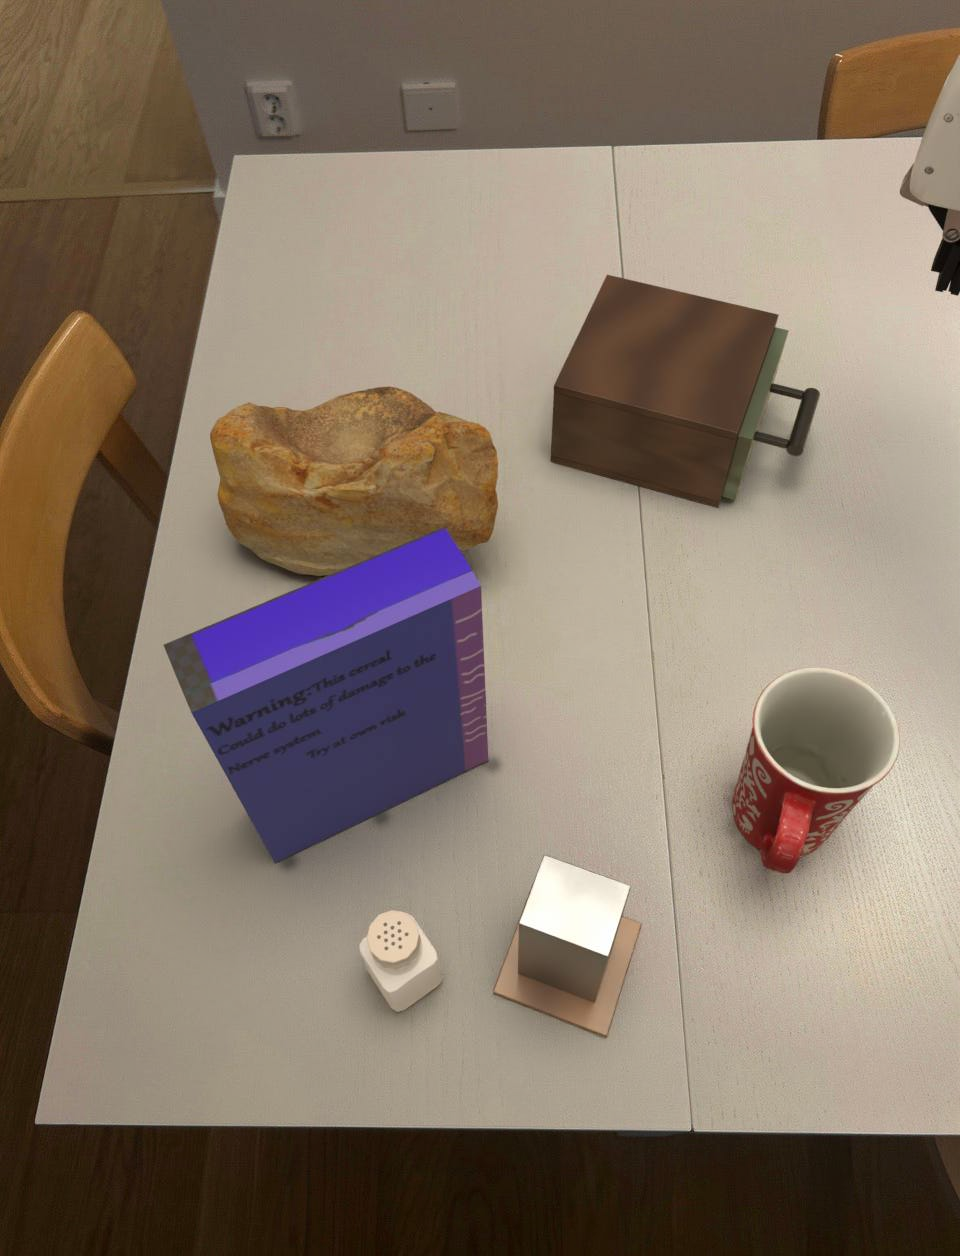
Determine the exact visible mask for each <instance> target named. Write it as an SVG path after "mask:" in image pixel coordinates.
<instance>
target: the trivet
mask: <svg viewBox="0 0 960 1256" xmlns="http://www.w3.org/2000/svg"><path fill="white" fill-rule="evenodd" d="M532 886H533V884H532V885H531V887H532ZM530 891H531V889H530ZM530 891H529V893H528V896H527V899H528V897H529V894H530ZM527 899H526V901H525V904H524V906H525V905H526V902H527ZM523 910H524V908H523V909H522V912H521V915H520V918H521V916H522V913H523ZM520 918H519V920H518V923H517V926H516V928H515V930H514V934H513V936H512V939H511V942H510V945H509V947H508V950H507V953H506V956H505V959H504V961H503V964H502V967H501V969H500V971H499V975H498V978H497V980H496V982H495V985H494V987H493V990H492V992H493V994H494V995H497V996H499V997H501V998H503V999H507V1000H509V1001H511V1002H514V1003H517V1004H520V1005H522V1006H525V1007H527V1008H529V1009H532V1010H533V1011H534V1010H535V1011H537V1012H539V1013H542V1014H544V1015H548V1016H550V1017H553V1018H555V1019H557V1020H560V1021H562V1022H565V1023H568V1024H570V1025H573V1026H575V1027H578V1028H581V1029H582V1030H586V1031H587V1032H590V1033H593V1034H596V1035H598V1036H601V1037H603V1038H607V1037H608V1034H609V1031H610V1028H611V1025H612V1023H613V1022H612V1021H613V1018H614V1015H615V1012H616V1010H617V1009H616V1008H617V1005H618V1002H619V998H620V995H621V992H622V989H623V986H624V983H625V980H626V976H627V973H628V969H629V967H630V963H631V960H632V957H633V953H634V950H635V947H636V943H637V940H638V937H639V934H640V930H641V927H642V922H640V921H637V920H634V919H633V918H632V919H631V918H629V917H626V916H624V915H622V919H621V922H620V925H619V929H618V932H617V936H616V939H615V942H614V945H613V949H612V952H611V955H610V958H609V961H608V964H607V967H606V971H605V974H604V977H603V980H602V983H601V986H600V989H599V993H598V996H597V999H596V1002H595V1003H594V1002H591V1001H589V1000H586V999H583V998H581V997H578V996H576V995H573V994H570V993H568V992H565V991H563V990H560V989H558V988H555V987H552V986H550V985H547V984H545V983H542V982H539V981H537V980H534V979H532V978H529V977H526V976H524V975H521V974H519V973H518V939H519V921H520Z"/></svg>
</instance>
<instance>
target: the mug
mask: <svg viewBox="0 0 960 1256" xmlns="http://www.w3.org/2000/svg"><path fill="white" fill-rule="evenodd" d="M900 746H901V737H900V728H899V725H898V721H897V719H896V717H895V715H894V712H893V710H892V709H891V707H890V706H889V704H888V703H887V701H886V700H885V699H884V698H883V697H882V696H881V694H880V693H878V692H877V691H876V689H875V688H873V687H872V686H870V685H869V684H868V683H866V682H865V681H864V680H861V679H860V678H858V677H856V676H854V675H852V674H850V673H847V672H845V671H842V670H838V669H834V668H829V667H819V666H813V667H812V666H810V667H802V668H797V669H793V670H791V671H790V670H789V671H788V672H784V673H782V674H781V675H779V676H778V677H776V678H775V679H773V680H771V681H770V682H769V683H768V685H766V686H765V687H764V689H763V690H762V691H761V693H760V694H759V696H758V698H757V700H756V702H755V705H754V709H753V714H752V727H751V731H750V734H749V738H748V742H747V745H746V751H745V754H744V757H743V760H742V763H741V767H740V771H739V773H738V774H739V775H738V778H737V782H736V784H735V788H734V791H733V796H732V804H731V805H732V814H733V819H734V821H735V824H736V826H737V828H738V830H739V832H740V833H741V835H742V836H743V837H744V838H745V839H746V841H747V842H749V844H751V845H752V846H754V847H755V848H756V849H758V850H760V859H761V860H760V861H761V865H763V867H765V868H766V869H768V870H770V871H773V872H776V873H780V874H787V875H788V874H790V873H792V872H793V870H794V869H795V867H796V866H797V865H798V862H799V860H800V859H801V857H804V856H806V855H807V856H808V855H810V854H811V853H813V852H815V851H816V850H818V849H819V848H820V847H821V846H822V845H823V844H824V843H825V842H826V841H827V840H828V839H829V838H830V837H831V835H832V834H833V833H834V832H835V830H836V829H837V828H838V827H839V825H841V823H842V822H843V821H844V820H845V819H846V817H848V816H849V814H850V813H851V812H852V810H853V809H854V808H855V807H856V806H857V805H858V804H859V803H860V802H861V801H862V800H863V798H865V796H866V795H867V794H868V792H870V790H872V788H873V787H875V785H877V784H878V783H880V782H881V781H882V780H884V778H885V777H886V776H888V774H889V773H890V772H891V770H892V769H893V767H894V766H895V763H896V761H897V759H898V756H899V752H900V748H901V747H900Z"/></svg>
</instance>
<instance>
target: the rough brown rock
mask: <svg viewBox="0 0 960 1256" xmlns="http://www.w3.org/2000/svg"><path fill="white" fill-rule="evenodd" d="M209 439H210V444H211V449H212V453H213V456H214V461H215V465H216V468H217V471H218V474H219V484H218V489H217V494H216V495H217V500H218V504H219V507H220V509H221V511H222V515H223V518H224V521H225V525H226V527H227V528H228V531H229V532H230V534H231V535H232V536H233V537H234V539H236V541H237V542H238V543H239V544H241V545H242V546H244V547H246V548H247V549H249V550H250V551H252V552H253V554H255V555H256V556H257V557H258V558H259V559H261V560H263V561H265V562H267V563H269V564H273V565H276V566H278V567H280V568H283V569H284V570H288V571H289V572H291V573H295V574H298V575H309V576H310V575H311V576H316V577H325V576H328V575H331V574H333V573H335V572H338V571H340V570H343V569H345V568H347V567H350V566H352V565H354V564H357V563H359V562H362V561H364V560H366V559H369V558H371V557H373V556H376V555H378V554H381V553H383V552H385V551H388V550H390V549H392V548H395V547H397V546H400V545H402V544H404V543H407V542H409V541H412V540H414V539H416V538H419V537H421V536H423V535H426V534H428V533H431V532H433V531H435V530H438V529H440V528H442V527H445V529H446V530H447V532H448V533H449V535H450V536H451V538H452V539H453V541H454V542H455V544H456V545H457V547H458V548H459V550H460V551H461V553H464V552H466V551H467V550H470V549H473V547H475V546H478V545H483V544H486V543H488V542H489V541H490V539H491V538H492V535H493V533H494V530H495V524H496V523H495V522H496V517H497V512H498V507H499V501H498V500H499V499H498V494H497V483H498V476H499V459H498V452H497V449H496V447H495V445H494V442H493V438H492V436H491V432H490V431H489V430H488V429H487V427H485V426H483V425H482V424H480V423H478V422H474V421H468V420H466V419H464V418H461V417H458V416H456V415H452V414H449V413H446V412H442V411H435V409H434V408H433V407H431V406H430V405H429V404H427V403H426V402H425V401H423V400H422V399H420V398H419V397H418V396H416V395H415V394H413V392H410V391H407V390H405V389H401V388H398V387H395V386H378V387H372V388H367V389H364V390H357V391H352V392H349V393H345V394H341V395H337V396H335V397H334V398H331V399H329V400H327V401H325V402H323V403H321V404H319V405H317V406H314V407H313V408H310V409H309V408H308V409H305V410H298V409H292V408H289V407H285V406H276V407H270V406H267V405H266V406H265V405H257V404H254V403H252V402H246V403H244V404H241V405H238V406H236V407H234V408H232V409H231V410H230V411H228V412H227V413H226V414H225V415H223V416H221V417H220V418H218V419H217V420H216V421H215V423H214V425H213V426H212V429H211V430H210V433H209Z"/></svg>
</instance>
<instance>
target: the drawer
mask: <svg viewBox="0 0 960 1256" xmlns="http://www.w3.org/2000/svg"><path fill="white" fill-rule="evenodd" d="M789 332H790V331H789V330H788V329H785V328H780V327H775V329H774V332H773V335H772V338H771V341H770V344H769V347H768V349H767V352H766V355H765V358H764V361H763V364H762V367H761V370H760V373H759V376H758V379H757V382H756V384H755V387H754V390H753V393H752V396H751V399H750V402H749V405H748V408H747V411H746V414H745V416H744V419H743V422H742V425H741V428H740V431H739V434H738V437H737V441H736V445H735V449H734V452H733V456H732V460H731V464H730V468H729V471H728V475H727V479H726V483H725V487H724V490H723V494H722V498H727V499H731V500H734V501H735V500H737V496H738V493H739V490H740V487H741V485H742V481H743V478H744V475H745V472H746V469H747V466H748V464H749V459H750V457H751V454H752V451H753V449H754V445H755V442H757V443H762V444H766V445H770V446H773V447H777V448H781V449H785V451H786V452H787V454H788V455H790V456H793V457H799V456H801V455H803V453H804V450H805V447H806V444H807V440H808V437H809V433H810V430H811V428H812V427H811V426H812V424H813V420H814V417H815V413H816V411H817V408H818V403H819V400H820V397H821V392H820V391H819V390H818V389H817V388H816V387H808V388H806V389H804V390H801V389H798V388H794V387H789V386H785V385H781V384H777V383H775V381H776V376H777V373H778V369H779V365H780V362H781V359H782V356H783V352H784V349H785V346H786V342H787V338H788V335H789ZM771 393H772V394H776V395H780V396H784V397H788V398H792V399H796V400H800V403H799V407H798V410H797V412H796V416H795V419H794V421H793V426H792V428H791V429H792V430H791V433H790V436H789V438H784V437H781V436H778V435H774V434H770V433H765V432H761V431H759V430H760V427H761V425H762V421H763V418H764V416H765V415H764V414H765V412H766V409H767V406H768V402H769V400H770V397H771Z"/></svg>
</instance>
